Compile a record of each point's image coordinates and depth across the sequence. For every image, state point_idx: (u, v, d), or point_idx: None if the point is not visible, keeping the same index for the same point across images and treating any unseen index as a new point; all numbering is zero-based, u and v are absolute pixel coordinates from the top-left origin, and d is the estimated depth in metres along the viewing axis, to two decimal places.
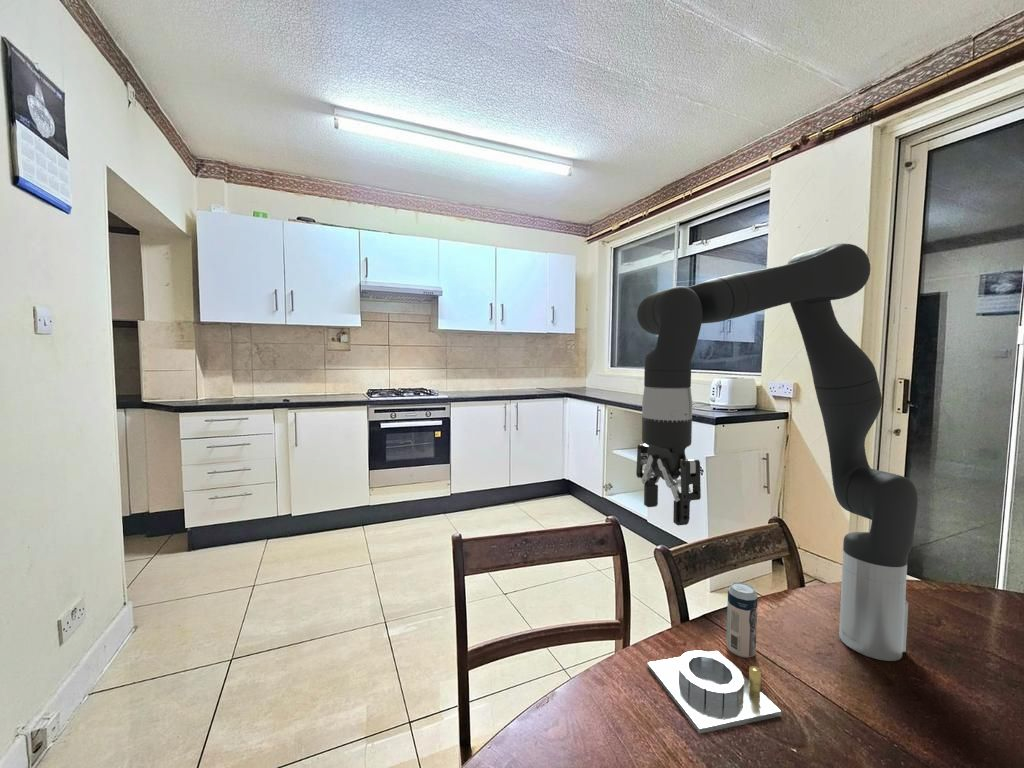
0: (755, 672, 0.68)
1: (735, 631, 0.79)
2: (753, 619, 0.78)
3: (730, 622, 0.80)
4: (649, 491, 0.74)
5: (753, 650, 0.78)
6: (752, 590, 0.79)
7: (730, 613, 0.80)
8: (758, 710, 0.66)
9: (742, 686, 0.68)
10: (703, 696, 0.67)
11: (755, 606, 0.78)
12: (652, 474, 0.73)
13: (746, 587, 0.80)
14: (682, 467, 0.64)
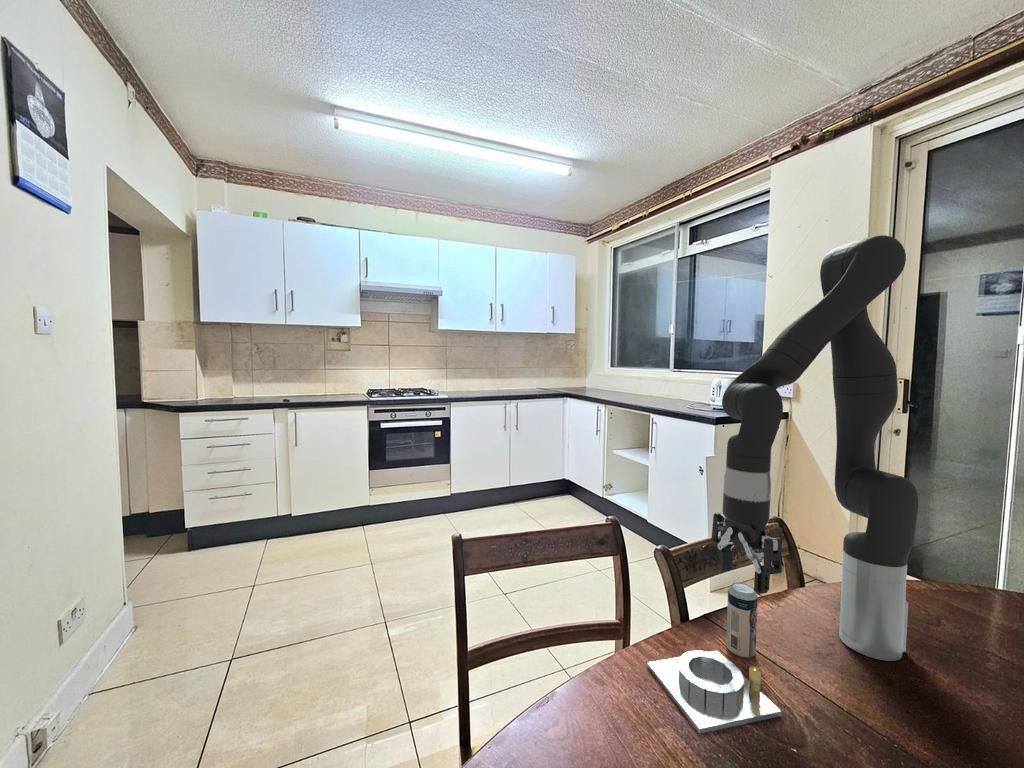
0: (755, 672, 0.68)
1: (735, 631, 0.79)
2: (753, 619, 0.78)
3: (730, 622, 0.80)
4: (725, 556, 0.83)
5: (753, 650, 0.78)
6: (752, 590, 0.79)
7: (730, 613, 0.80)
8: (758, 710, 0.66)
9: (742, 686, 0.68)
10: (703, 696, 0.67)
11: (755, 606, 0.78)
12: (729, 542, 0.82)
13: (746, 587, 0.80)
14: (765, 545, 0.73)
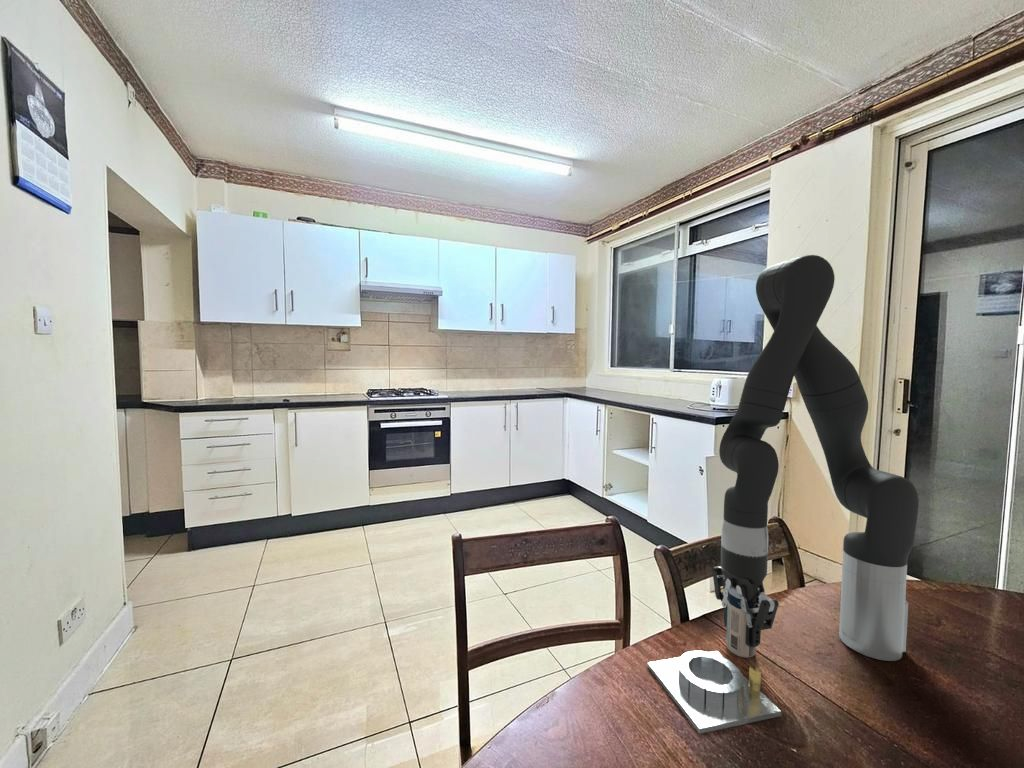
0: (755, 672, 0.68)
1: (735, 631, 0.79)
2: None
3: (730, 622, 0.80)
4: None
5: (753, 650, 0.78)
6: None
7: (730, 613, 0.80)
8: (758, 710, 0.66)
9: (742, 686, 0.68)
10: (703, 696, 0.67)
11: None
12: None
13: None
14: (762, 605, 0.74)
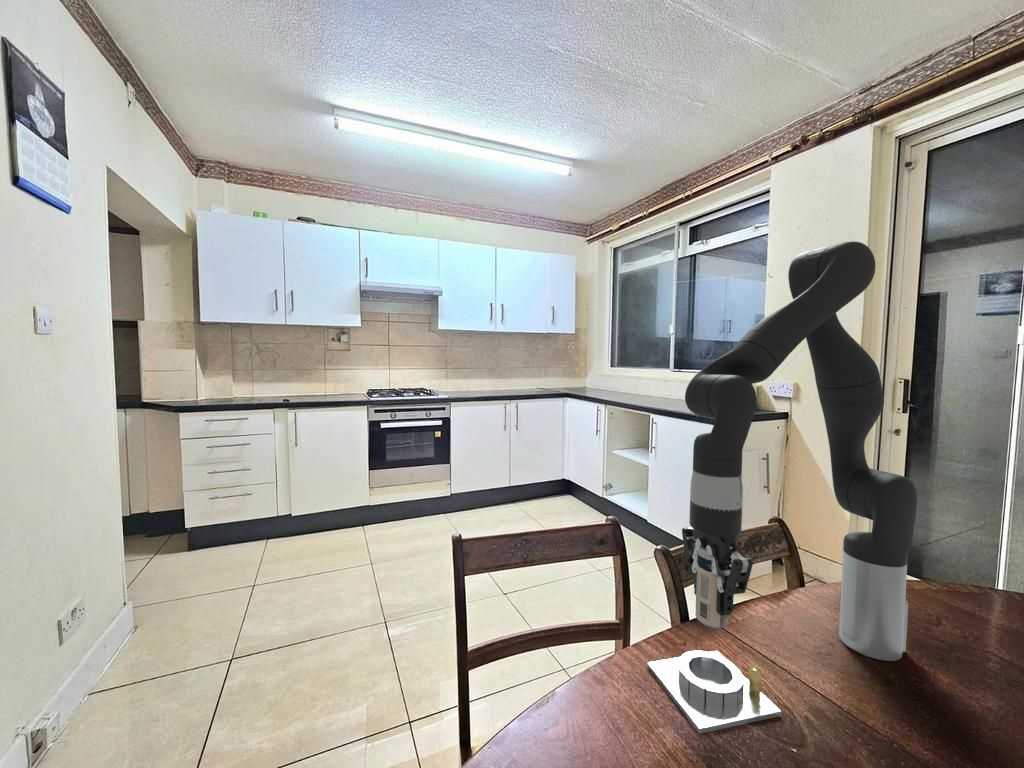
0: (755, 672, 0.68)
1: (704, 598, 0.69)
2: (724, 583, 0.68)
3: (699, 588, 0.69)
4: None
5: (725, 619, 0.68)
6: None
7: (699, 577, 0.69)
8: (758, 710, 0.66)
9: (742, 686, 0.68)
10: (703, 696, 0.67)
11: None
12: None
13: None
14: (734, 565, 0.64)
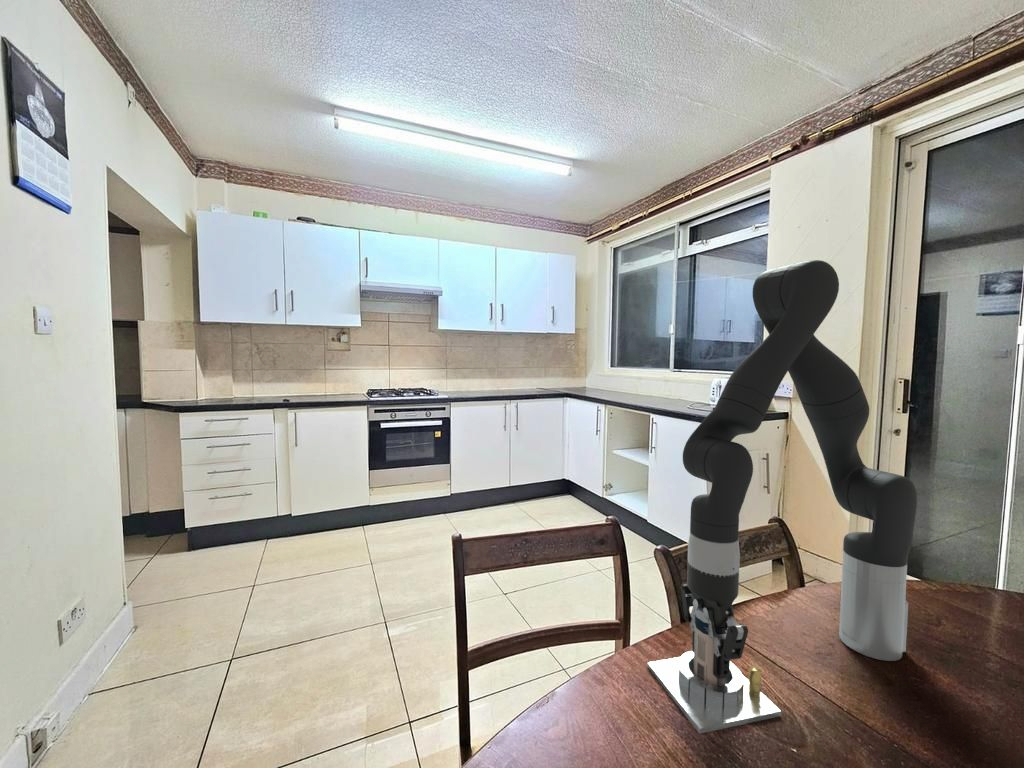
0: (755, 672, 0.68)
1: (701, 659, 0.69)
2: (721, 646, 0.68)
3: (696, 649, 0.70)
4: None
5: (722, 682, 0.69)
6: None
7: (696, 638, 0.70)
8: (758, 710, 0.66)
9: (742, 686, 0.68)
10: (703, 696, 0.67)
11: None
12: None
13: None
14: (729, 632, 0.64)
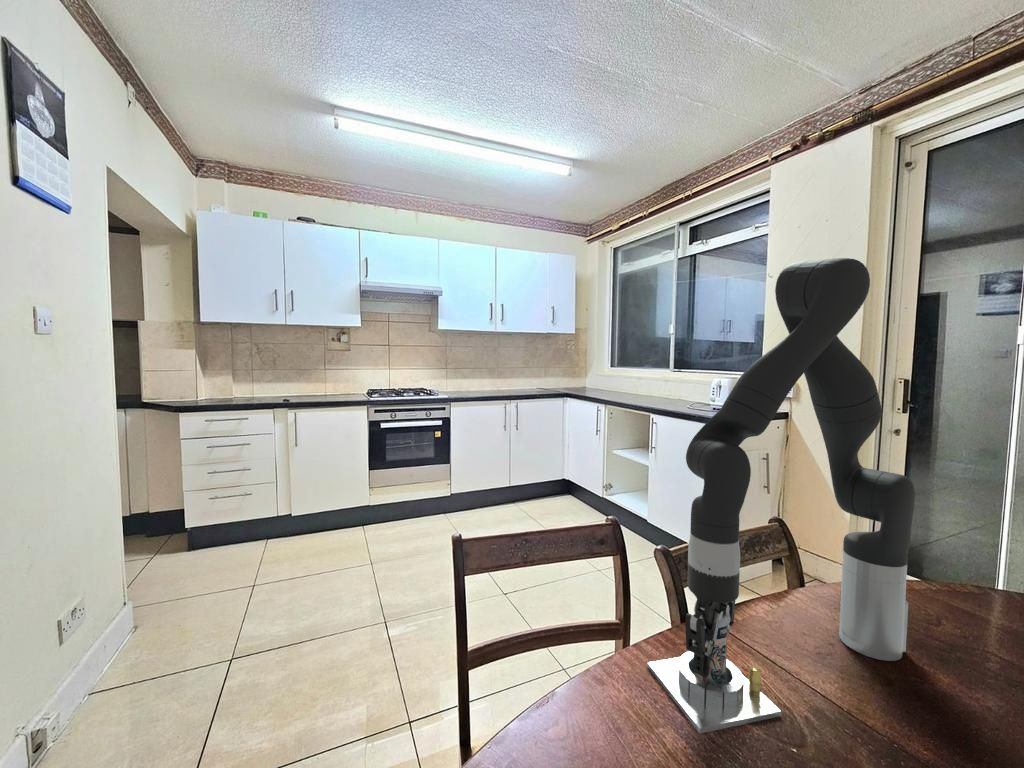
0: (755, 672, 0.68)
1: None
2: None
3: None
4: None
5: None
6: None
7: None
8: (758, 710, 0.66)
9: (742, 686, 0.68)
10: (703, 696, 0.67)
11: None
12: None
13: None
14: None
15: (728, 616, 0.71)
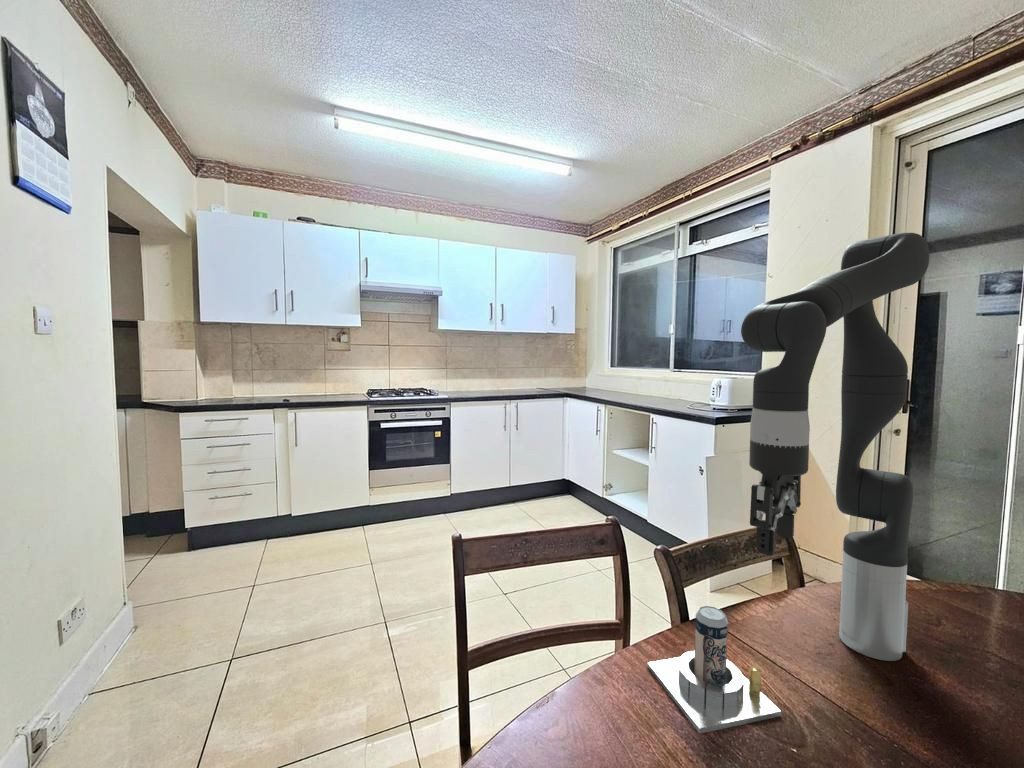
0: (755, 672, 0.68)
1: (695, 653, 0.71)
2: (707, 647, 0.69)
3: None
4: (781, 519, 0.69)
5: None
6: (717, 619, 0.69)
7: None
8: (758, 710, 0.66)
9: (742, 686, 0.68)
10: (703, 696, 0.67)
11: (712, 635, 0.68)
12: None
13: (717, 615, 0.70)
14: None
15: (795, 495, 0.66)
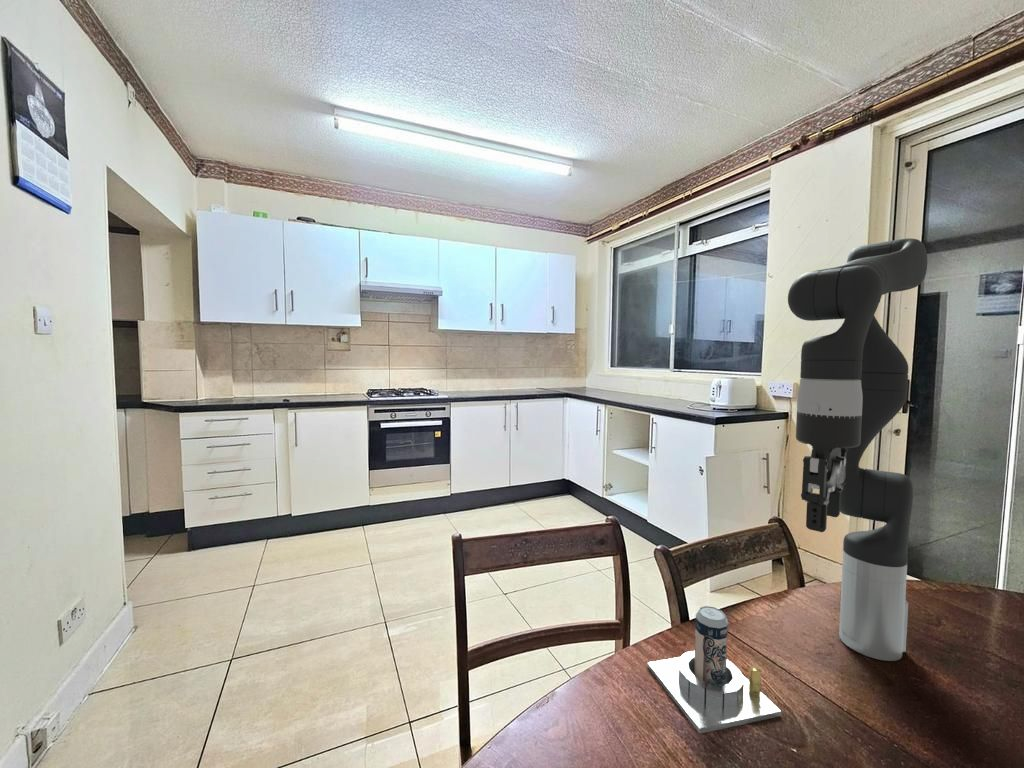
0: (755, 672, 0.68)
1: (695, 653, 0.71)
2: (707, 647, 0.69)
3: None
4: None
5: None
6: (717, 619, 0.69)
7: None
8: (758, 710, 0.66)
9: (742, 686, 0.68)
10: (703, 696, 0.67)
11: (712, 636, 0.68)
12: None
13: (717, 615, 0.70)
14: None
15: (844, 471, 0.63)
